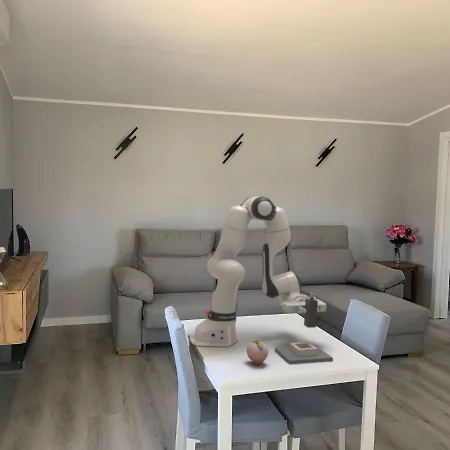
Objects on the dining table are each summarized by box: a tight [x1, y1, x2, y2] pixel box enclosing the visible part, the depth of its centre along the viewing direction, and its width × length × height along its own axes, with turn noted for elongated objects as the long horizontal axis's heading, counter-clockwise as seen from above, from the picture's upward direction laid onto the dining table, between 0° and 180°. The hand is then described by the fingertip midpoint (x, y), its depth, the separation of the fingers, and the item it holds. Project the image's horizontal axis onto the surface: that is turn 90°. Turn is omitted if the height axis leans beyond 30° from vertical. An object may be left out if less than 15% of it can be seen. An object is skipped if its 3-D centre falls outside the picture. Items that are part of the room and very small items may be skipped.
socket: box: [274, 341, 334, 365], centre depth 202 cm, size 20×16×4 cm
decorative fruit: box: [245, 339, 269, 365], centre depth 191 cm, size 9×8×10 cm
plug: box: [303, 292, 319, 329], centre depth 207 cm, size 4×4×15 cm
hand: (311, 311), depth 206 cm, fingers closed on plug, 4 cm apart
